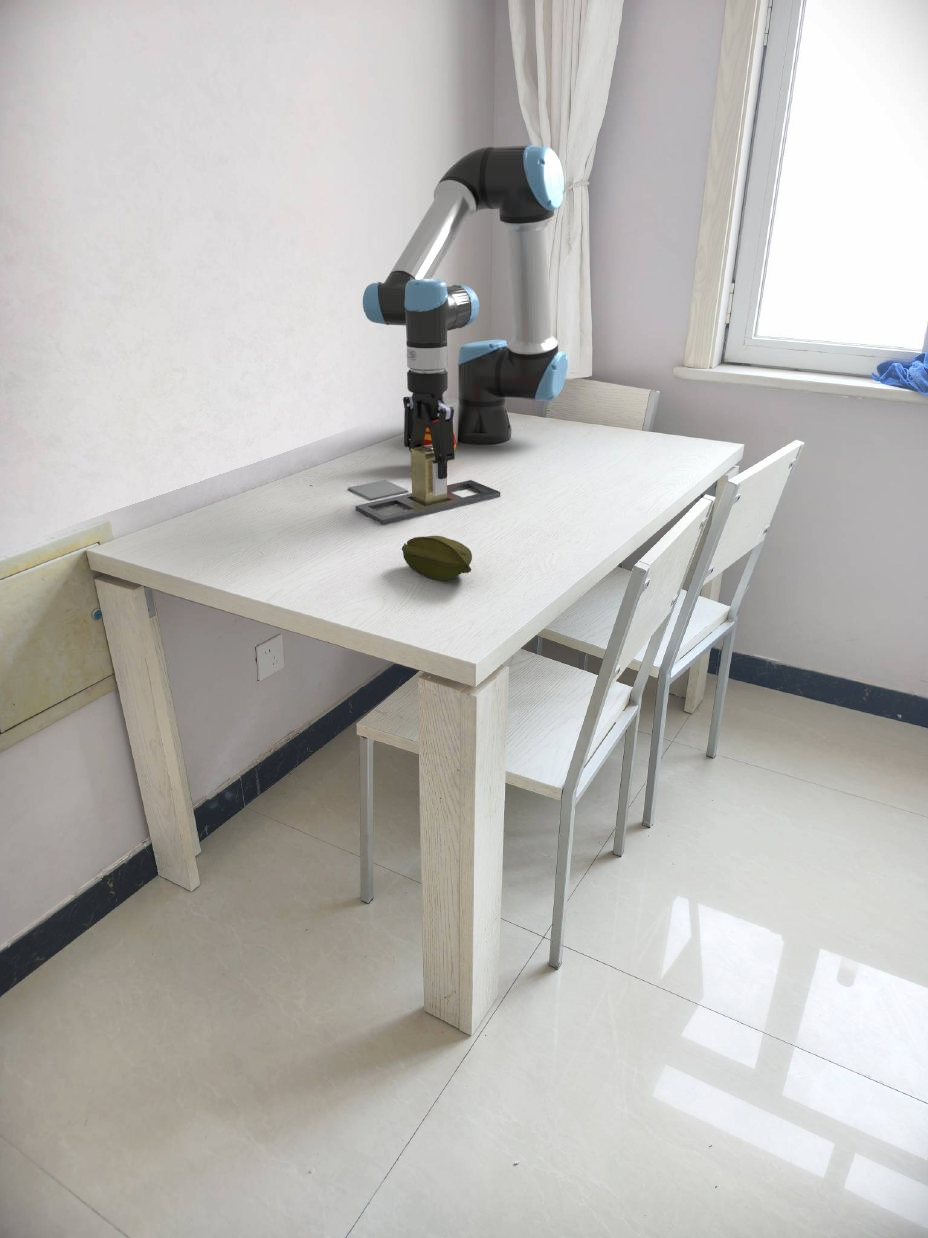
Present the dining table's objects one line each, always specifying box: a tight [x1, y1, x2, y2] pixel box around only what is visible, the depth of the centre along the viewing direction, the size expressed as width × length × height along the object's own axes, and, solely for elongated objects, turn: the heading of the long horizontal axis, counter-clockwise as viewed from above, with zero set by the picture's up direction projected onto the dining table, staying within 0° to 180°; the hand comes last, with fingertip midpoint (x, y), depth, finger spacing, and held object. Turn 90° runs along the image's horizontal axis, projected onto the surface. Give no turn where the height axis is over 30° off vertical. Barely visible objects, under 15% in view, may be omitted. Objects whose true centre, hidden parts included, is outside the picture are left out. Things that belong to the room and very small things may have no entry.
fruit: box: [401, 535, 473, 581], centre depth 136 cm, size 11×12×7 cm
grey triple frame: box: [354, 479, 501, 526], centre depth 169 cm, size 10×28×1 cm, turn 127°
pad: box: [347, 479, 409, 501], centre depth 176 cm, size 9×9×1 cm
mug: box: [443, 396, 459, 445], centre depth 207 cm, size 11×9×10 cm
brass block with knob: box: [410, 445, 448, 506], centre depth 166 cm, size 5×5×11 cm
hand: (429, 489), depth 167 cm, fingers open, 6 cm apart
